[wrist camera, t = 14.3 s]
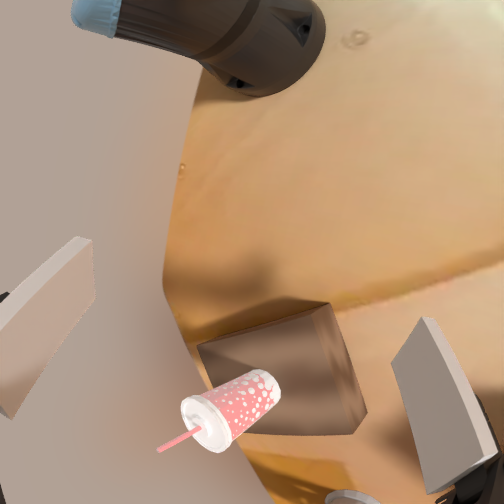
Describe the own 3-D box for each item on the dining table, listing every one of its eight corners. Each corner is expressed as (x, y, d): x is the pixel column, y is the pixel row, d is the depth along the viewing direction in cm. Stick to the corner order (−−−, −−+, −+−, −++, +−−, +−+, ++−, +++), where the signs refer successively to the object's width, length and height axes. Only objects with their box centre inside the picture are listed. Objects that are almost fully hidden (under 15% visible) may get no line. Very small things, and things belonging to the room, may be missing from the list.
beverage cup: (256, 351, 30) (141, 408, 20) (296, 393, 28) (188, 470, 17) (235, 381, 33) (134, 433, 23) (270, 419, 30) (173, 484, 20)
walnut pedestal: (218, 336, 40) (196, 345, 37) (329, 302, 29) (310, 314, 26) (251, 418, 38) (232, 431, 35) (367, 413, 27) (352, 434, 24)
